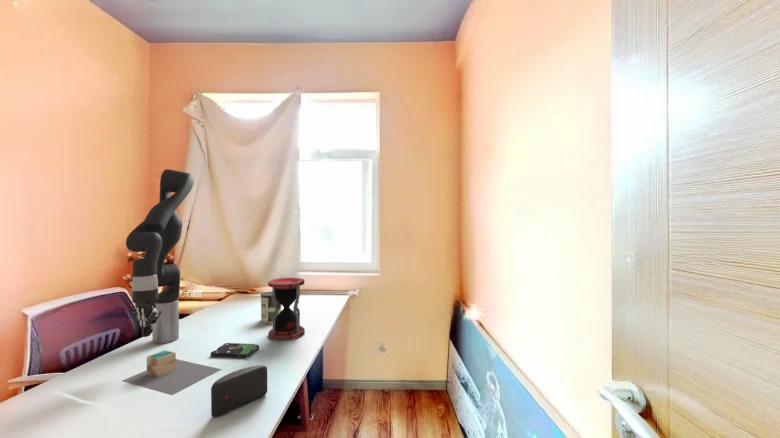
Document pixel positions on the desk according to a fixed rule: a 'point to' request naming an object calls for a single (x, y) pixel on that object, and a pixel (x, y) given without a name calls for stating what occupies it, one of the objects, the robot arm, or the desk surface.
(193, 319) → the desk surface
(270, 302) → the coffee can
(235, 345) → the disk drive
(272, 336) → the hourglass
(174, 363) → the oak cube
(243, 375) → the leaning round-cornered charcoal block
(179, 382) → the rubber mat
